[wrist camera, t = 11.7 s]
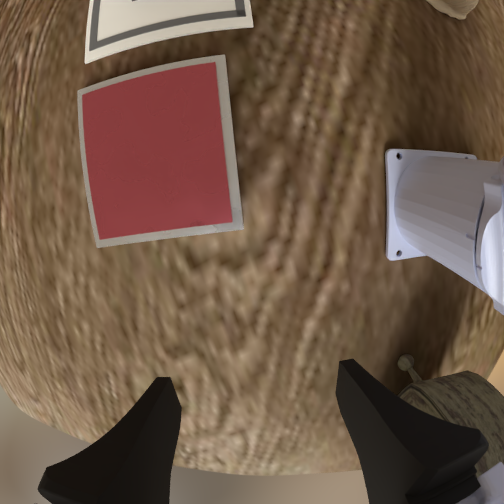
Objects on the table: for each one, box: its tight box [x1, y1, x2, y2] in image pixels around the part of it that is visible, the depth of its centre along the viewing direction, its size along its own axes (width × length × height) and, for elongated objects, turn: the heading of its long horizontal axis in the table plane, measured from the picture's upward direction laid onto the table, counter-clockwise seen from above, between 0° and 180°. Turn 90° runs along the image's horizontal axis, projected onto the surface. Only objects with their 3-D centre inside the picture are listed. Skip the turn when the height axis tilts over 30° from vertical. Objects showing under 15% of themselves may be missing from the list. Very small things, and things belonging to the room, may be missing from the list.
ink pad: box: [78, 55, 244, 248], centre depth 16 cm, size 10×11×2 cm
